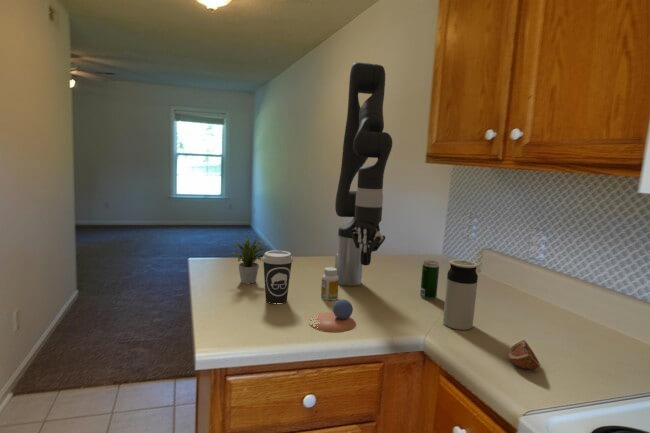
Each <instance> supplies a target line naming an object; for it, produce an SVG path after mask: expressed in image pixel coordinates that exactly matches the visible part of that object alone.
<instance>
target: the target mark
mask: <svg viewBox="0 0 650 433" xmlns="http://www.w3.org/2000/svg"><path fill="white" fill-rule="evenodd" d="M318 314H319V315H318ZM314 315H316V317H317V315H318V318H317V319H315V320H318V322H320V324H319V323H318V324H315V325H316V326H315V327H314V328H313V329H315V328H317V327H318V328H317V329H316V330H318V329H319V330H318V331H321V330H322V332H326V331H327V333H343V332H346V331H349V330H351V329H353V328H354V327H356V321H355V320H354V318H352V317H351V316H350V317H349V318H347V319H339V318H337V317H336V316H335V314H334V312H320V313H316V314H314ZM312 318H313V317H312ZM314 318H315V317H314ZM308 319H309V318H308ZM309 320H310V319H309ZM313 320H314V319H313ZM319 320H320V321H319ZM310 321H312V320H310ZM316 322H317V321H316ZM314 323H315V322H314ZM317 325H318V326H317ZM312 326H313V324H312V325H311V326H310V327H312Z"/></svg>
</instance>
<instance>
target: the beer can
mask: <svg viewBox="0 0 650 433" xmlns="http://www.w3.org/2000/svg"><path fill="white" fill-rule="evenodd" d="M439 264H440V262H438V261H435V260H430V259H427V260H423V263H422V266H421V270H422V271H421V278H420V280H421V281H420V291H419V295H420V298H422V299H425V300H428V301H429V300H435V299H436V298H437V294H438V286H439V284H438V283H439V274H440V265H439Z"/></svg>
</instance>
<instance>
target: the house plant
mask: <svg viewBox="0 0 650 433" xmlns="http://www.w3.org/2000/svg"><path fill="white" fill-rule="evenodd" d="M258 239H259V237H257V238H256V239H254V241H253V243H251V245H250V240H249V236H248V235H247V236H246V238H245V240H244V242H243V241H238V242H237V241H235V243H236V245H235V247H236V248H237V249H239V248H240V249H239V252H240V253H241V254H240V253H238V252H237V251H233V252H232V253H231V254H233V255H236V256H238V257H237V262H240V261H242V262H240V263H239V264H238V271H239V276H240V277H239V278H240V283H241V282H243V283H253V284H255V283H257V277H258V272H259V267H260V264H259V263H257V262H256V261H257V260H259V261H260V262H262V258H263V256H264V254H265V252H263V253H262V252H261V251H264V250H269V249H271V247H268V248H267V247H265V246H266V243H264V244H261V243H262V242H263V241H264V239H262V240H260V241H258ZM257 241H258V242H257ZM239 242H241V243H242V244H243V245H244V247H243V246H242V245H241V244H240V243H239ZM269 244H271V243H270V242H269V243H267V245H269ZM259 252H260V253H259ZM261 257H262V258H261ZM254 282H255V283H254ZM243 283H242V284H243Z"/></svg>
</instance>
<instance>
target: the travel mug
mask: <svg viewBox="0 0 650 433" xmlns="http://www.w3.org/2000/svg"><path fill="white" fill-rule="evenodd" d="M449 266H450V267H449V270H448V271H447V274H446V275H447V277H446V284H445V285H446V287H445V295H444V296H445V298H444V307H443V318H442V323H443V324H444V325H445V326H447V327H448V328H449V329H453V330H458V331H459V330H460V331H467V330H470V329H473V327H474V319H475V318H474V317H475V316H474V315H475V309H476V298H477V296H476V295H477V288H478V287H477V286H478V280H479V279H478V278H479V276H478V273H477V267H478V266H479V263H477V262H475V261H472V260H467V259H459V258H458V259H451V260H449Z"/></svg>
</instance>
